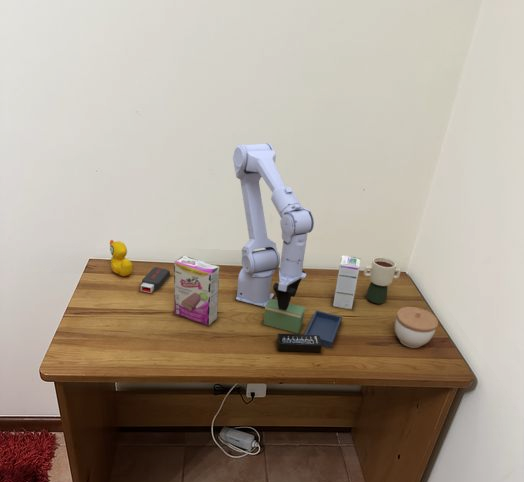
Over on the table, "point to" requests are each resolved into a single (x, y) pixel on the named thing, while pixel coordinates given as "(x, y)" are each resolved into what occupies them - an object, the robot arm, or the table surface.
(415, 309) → the trinket box
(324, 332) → the desk tray
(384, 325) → the table surface
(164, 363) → the table surface
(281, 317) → the green box
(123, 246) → the duckling
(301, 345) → the multiport hub
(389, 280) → the character mug
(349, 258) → the syrup box
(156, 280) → the usb drive
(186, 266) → the candy bar box
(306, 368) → the table surface
